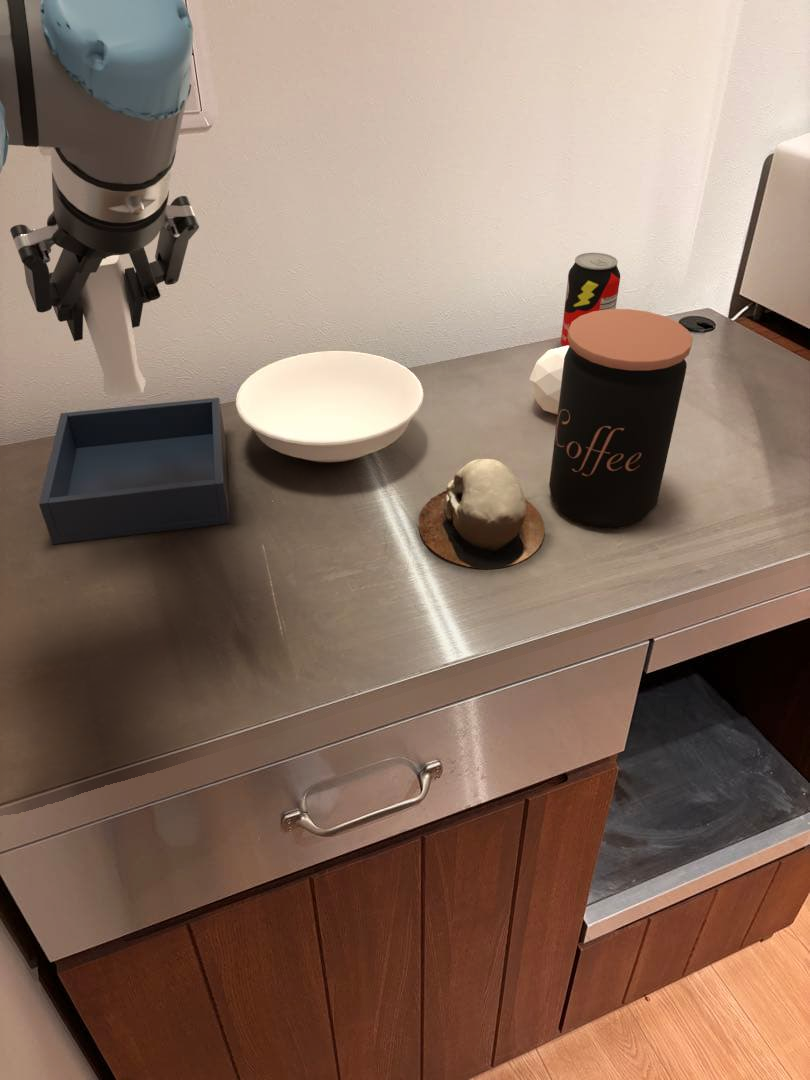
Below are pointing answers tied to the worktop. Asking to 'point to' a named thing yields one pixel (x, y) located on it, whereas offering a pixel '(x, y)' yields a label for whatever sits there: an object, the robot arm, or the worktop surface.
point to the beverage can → (590, 288)
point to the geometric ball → (548, 379)
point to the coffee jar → (616, 415)
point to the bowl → (330, 404)
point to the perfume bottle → (112, 328)
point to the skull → (482, 518)
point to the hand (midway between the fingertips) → (102, 319)
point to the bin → (136, 471)
